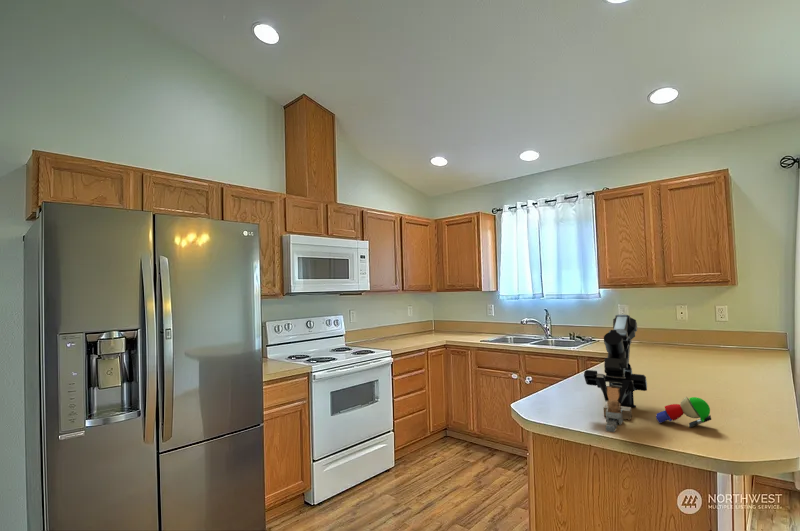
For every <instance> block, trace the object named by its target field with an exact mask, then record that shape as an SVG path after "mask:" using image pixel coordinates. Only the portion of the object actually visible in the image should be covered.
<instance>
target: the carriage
mask: <svg viewBox="0 0 800 531" xmlns="http://www.w3.org/2000/svg"><path fill="white" fill-rule="evenodd" d="M606 389H607V402H606V404H607V410H606V417H605V423H606V424H607V423H608V421H609V419H610V418H615V419H619V424H618V425H621V426H622V424H623V422H624V419H623V410H621V403H620V387H617V386H609V385H606Z"/></svg>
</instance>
